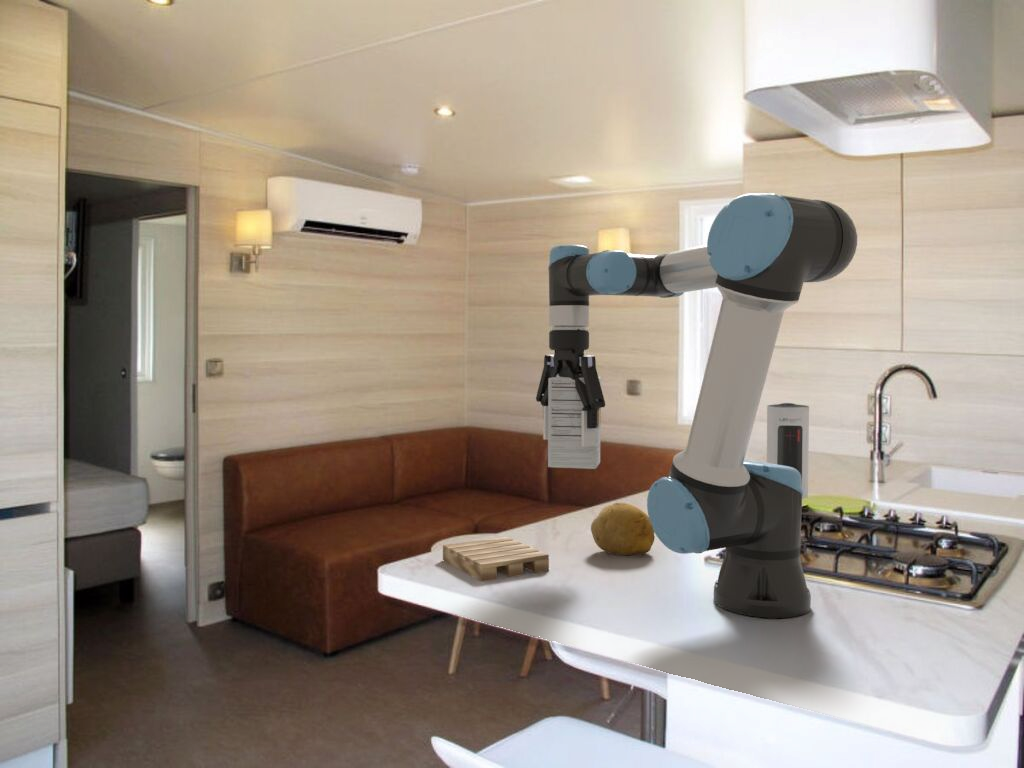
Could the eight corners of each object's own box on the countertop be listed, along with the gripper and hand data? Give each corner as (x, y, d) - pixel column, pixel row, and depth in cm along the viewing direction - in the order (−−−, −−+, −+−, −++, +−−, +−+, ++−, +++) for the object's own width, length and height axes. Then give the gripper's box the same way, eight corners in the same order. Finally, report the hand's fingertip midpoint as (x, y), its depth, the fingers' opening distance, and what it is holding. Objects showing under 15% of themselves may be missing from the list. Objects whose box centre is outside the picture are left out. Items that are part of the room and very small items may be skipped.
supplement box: (596, 469, 157) (597, 378, 156) (547, 468, 159) (547, 377, 158) (601, 462, 166) (601, 375, 165) (554, 460, 168) (554, 375, 167)
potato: (653, 561, 165) (654, 510, 164) (588, 557, 167) (589, 507, 167) (655, 548, 175) (655, 500, 174) (594, 545, 177) (594, 497, 177)
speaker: (762, 506, 218) (764, 404, 217) (767, 499, 228) (769, 401, 226) (806, 509, 214) (809, 405, 212) (809, 502, 224) (811, 402, 222)
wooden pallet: (548, 570, 158) (548, 554, 158) (481, 581, 151) (481, 564, 151) (506, 551, 172) (506, 536, 171) (442, 560, 165) (442, 545, 164)
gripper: (625, 328, 152) (624, 448, 153) (550, 330, 173) (550, 435, 174) (590, 327, 148) (590, 450, 149) (518, 329, 169) (518, 437, 170)
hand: (568, 442), depth 162 cm, fingers closed on supplement box, 12 cm apart
